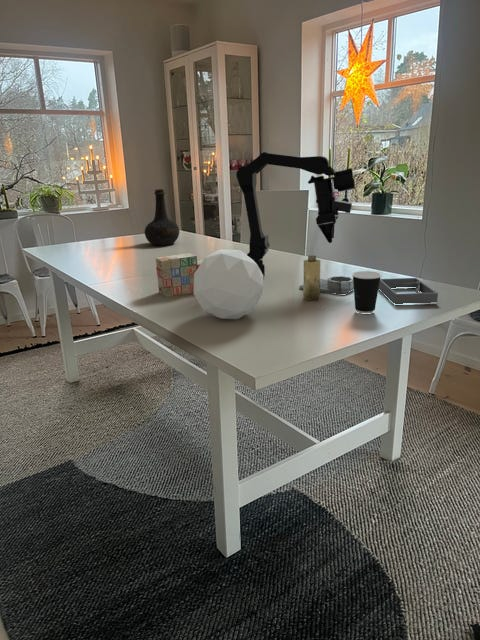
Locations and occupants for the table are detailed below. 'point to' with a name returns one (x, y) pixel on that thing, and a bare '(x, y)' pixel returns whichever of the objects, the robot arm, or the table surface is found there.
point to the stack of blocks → (176, 273)
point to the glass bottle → (161, 224)
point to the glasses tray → (424, 297)
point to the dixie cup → (365, 290)
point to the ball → (228, 284)
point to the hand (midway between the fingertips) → (331, 240)
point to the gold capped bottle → (311, 279)
